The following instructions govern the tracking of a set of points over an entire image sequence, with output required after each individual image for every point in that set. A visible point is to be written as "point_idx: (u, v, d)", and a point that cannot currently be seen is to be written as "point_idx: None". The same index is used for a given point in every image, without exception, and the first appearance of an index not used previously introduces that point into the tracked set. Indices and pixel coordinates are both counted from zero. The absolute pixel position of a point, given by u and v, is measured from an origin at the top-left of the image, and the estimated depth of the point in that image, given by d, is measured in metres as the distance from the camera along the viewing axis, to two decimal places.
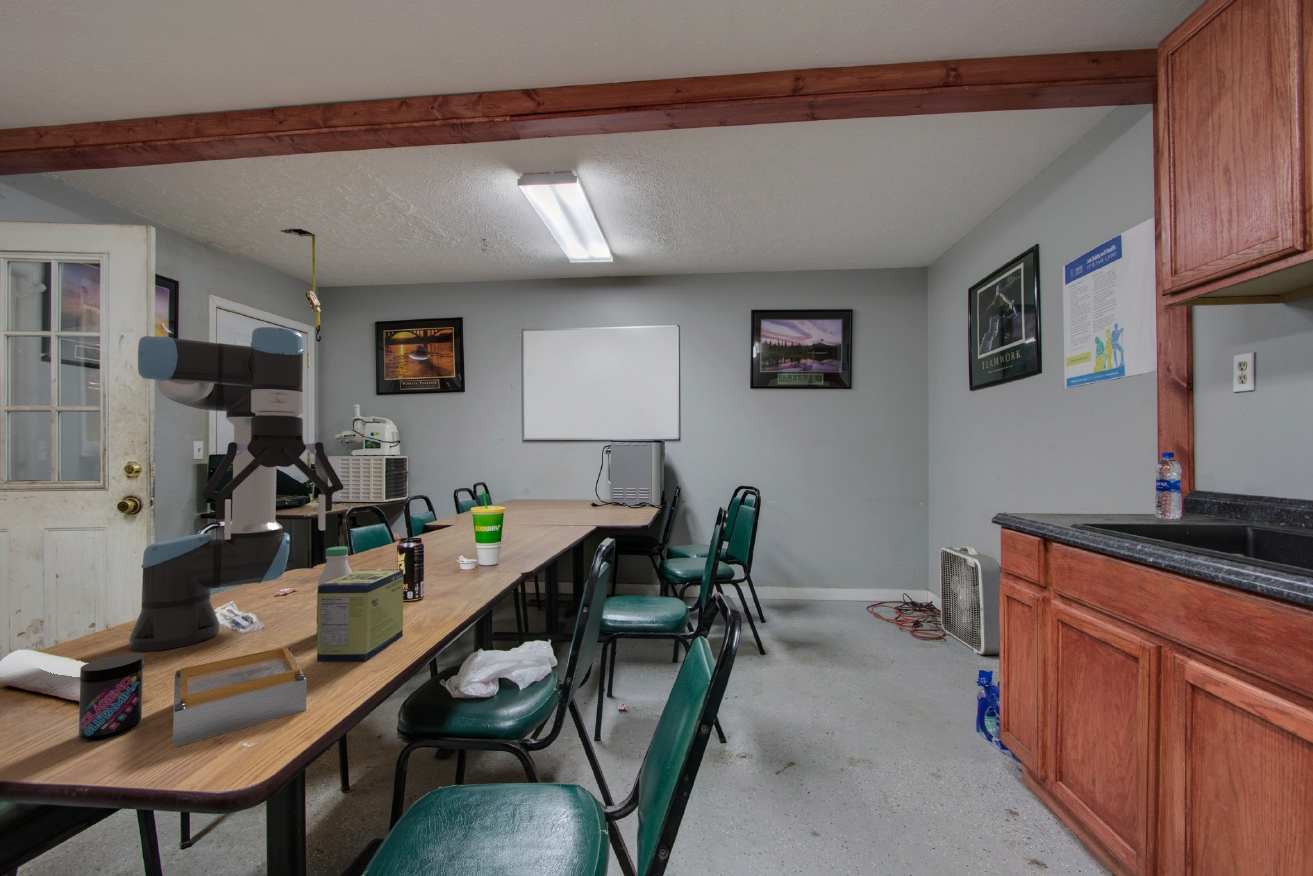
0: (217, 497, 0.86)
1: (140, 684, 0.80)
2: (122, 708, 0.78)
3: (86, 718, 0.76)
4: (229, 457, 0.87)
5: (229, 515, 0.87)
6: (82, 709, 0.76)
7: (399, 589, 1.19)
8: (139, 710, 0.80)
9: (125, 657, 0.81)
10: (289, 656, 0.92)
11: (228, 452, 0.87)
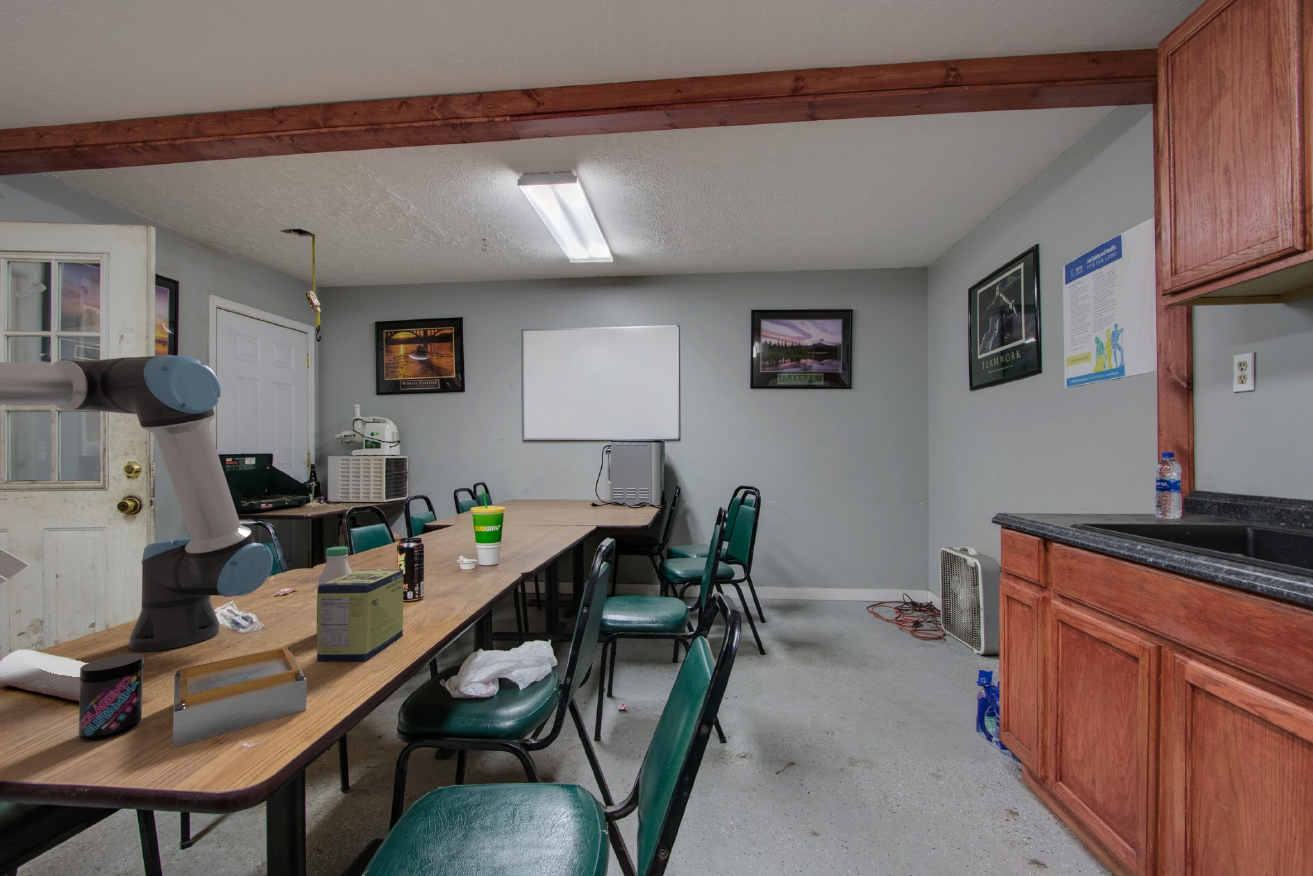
0: None
1: (140, 684, 0.80)
2: (122, 708, 0.78)
3: (86, 718, 0.76)
4: None
5: None
6: (82, 709, 0.76)
7: (399, 589, 1.19)
8: (139, 710, 0.80)
9: (125, 657, 0.81)
10: (289, 656, 0.92)
11: None
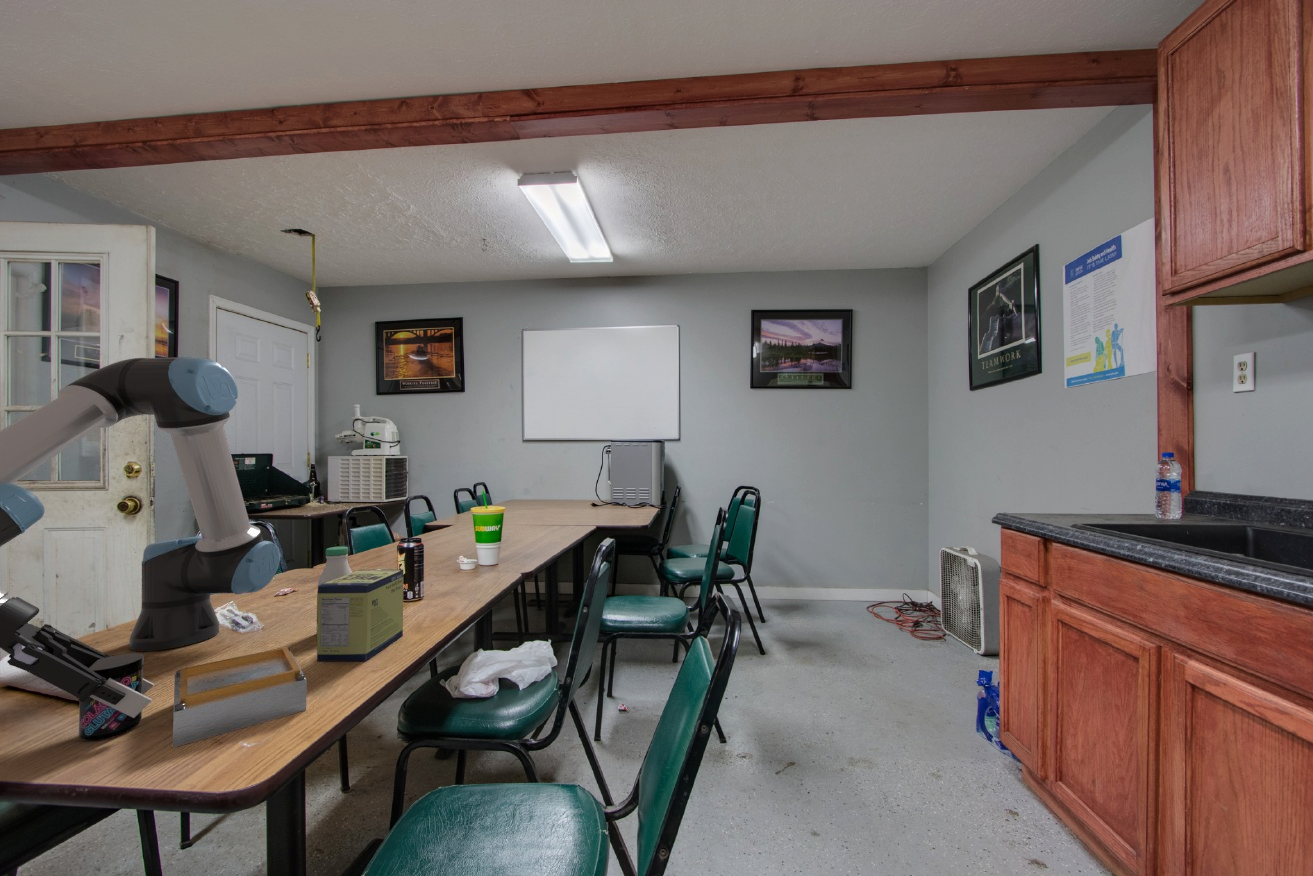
0: None
1: (140, 684, 0.80)
2: None
3: (86, 717, 0.76)
4: None
5: None
6: (82, 709, 0.76)
7: (399, 589, 1.19)
8: None
9: (125, 657, 0.81)
10: (289, 656, 0.92)
11: None
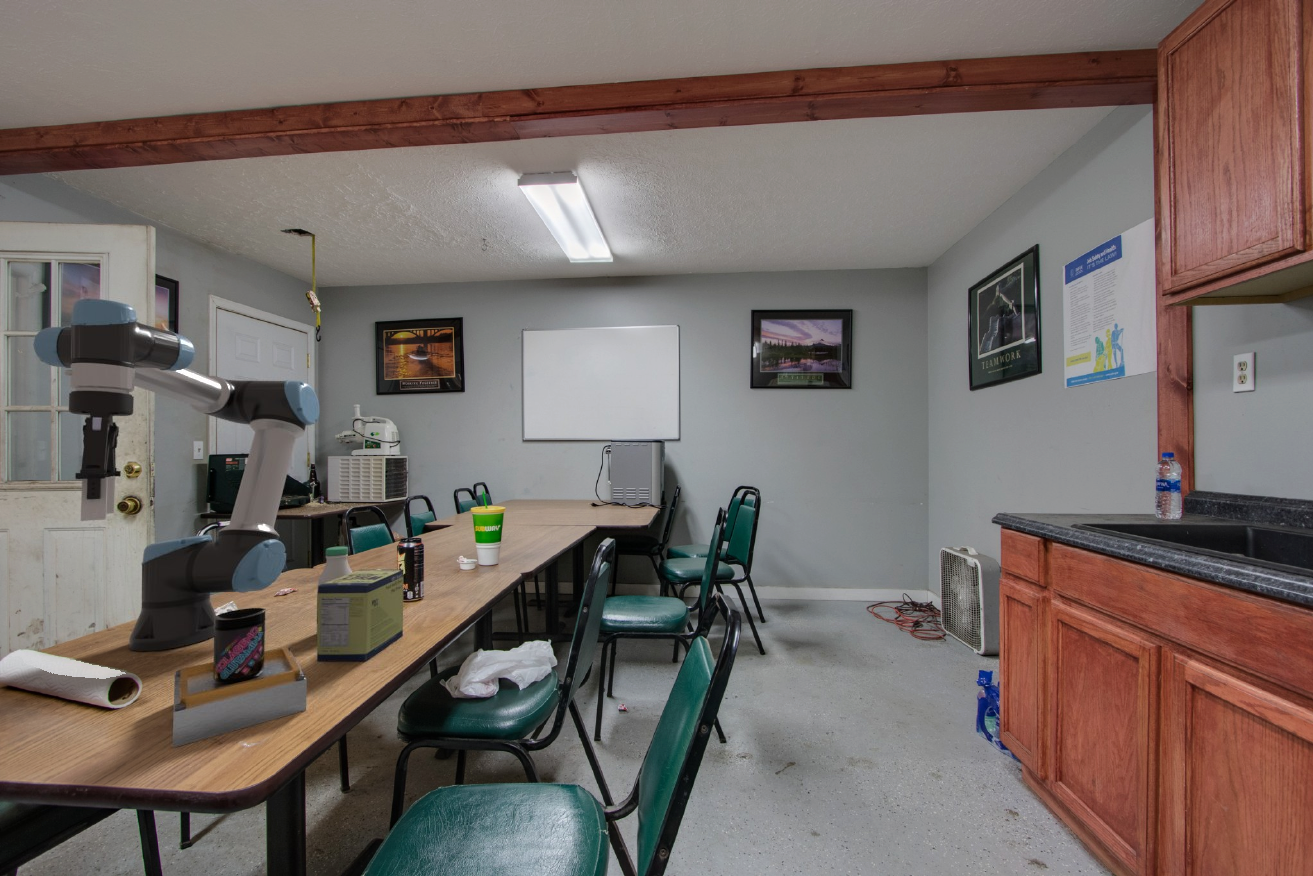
0: None
1: (264, 634, 0.88)
2: (251, 654, 0.85)
3: (221, 662, 0.83)
4: None
5: None
6: (218, 655, 0.83)
7: (399, 589, 1.19)
8: (263, 658, 0.87)
9: (249, 610, 0.88)
10: (289, 656, 0.92)
11: None
